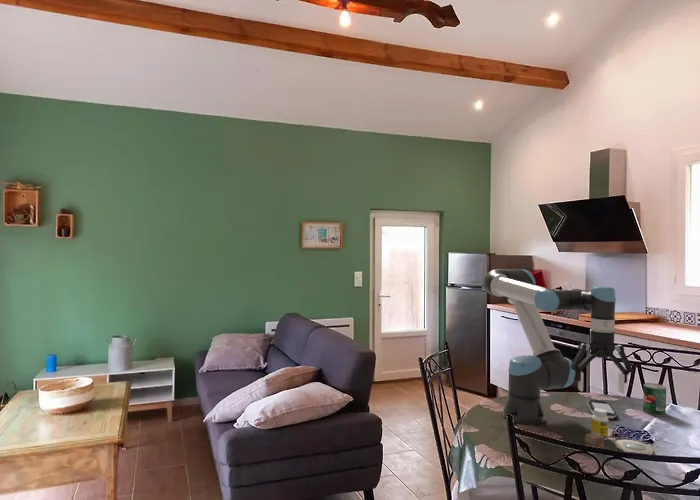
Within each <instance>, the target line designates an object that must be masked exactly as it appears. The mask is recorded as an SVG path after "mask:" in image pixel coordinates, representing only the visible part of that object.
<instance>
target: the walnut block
mask: <svg viewBox="0 0 700 500" xmlns="http://www.w3.org/2000/svg"><path fill="white" fill-rule="evenodd" d="M584 435H585V436H584V446H585V445H590V446H595V447H600V448H604V449H605V440H604V437H602V436H600V435H598V434H596V433H591V432H590V433H585V434H584Z"/></svg>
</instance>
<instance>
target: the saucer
mask: <svg viewBox="0 0 700 500" xmlns="http://www.w3.org/2000/svg"><path fill="white" fill-rule="evenodd" d="M614 446H615V447H616V449H618V448H619V449H622V450H624V451H630V452H636V453H647V454H652V453H653V454H654V448H653V447H652V446H650V445H649V444H646V443H645V442H642V441H638V440H633V439H617V440H616V441H615V442H614ZM619 449H618V450H619ZM653 454H652V455H653Z"/></svg>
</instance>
